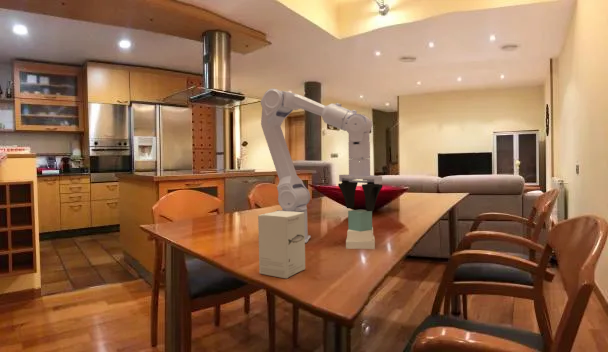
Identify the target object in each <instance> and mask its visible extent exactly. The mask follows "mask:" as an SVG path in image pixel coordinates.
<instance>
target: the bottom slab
mask: <svg viewBox="0 0 608 352" xmlns="http://www.w3.org/2000/svg"><path fill="white" fill-rule="evenodd" d="M345 249H346V250H349V249H352V250H353V249H354V250H355V249H356V250H376V240H375V235H373V240H372V241H347V238H346V239H345Z"/></svg>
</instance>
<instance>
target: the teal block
mask: <svg viewBox="0 0 608 352" xmlns="http://www.w3.org/2000/svg"><path fill="white" fill-rule="evenodd" d="M347 217H348V218H347V221H348V223H347V227H348V229H349V230H355V231H360V232H361V231H366V230H371V229H372V227H373V211H366V209H359V208H358V209H353V210H347Z"/></svg>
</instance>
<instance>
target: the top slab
mask: <svg viewBox="0 0 608 352" xmlns="http://www.w3.org/2000/svg"><path fill="white" fill-rule="evenodd" d="M346 235H347V236H346V239H347V241H372V240H373V236H374V227H373V226H372V229H371V230H366V231H361V232H360V231H355V230H349V228H348V229H347V233H346Z"/></svg>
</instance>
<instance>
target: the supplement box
mask: <svg viewBox="0 0 608 352" xmlns="http://www.w3.org/2000/svg"><path fill="white" fill-rule="evenodd" d="M257 219H258V221H257V222H258V223H257V227H258V229H257V230H258V261H259V262H258V267H259V272H258V273H259V274H261V275H264V276H271V277H275V278H276V277H277V278H281V279H285V280H287V279H288V278H290V277H292V276H293V275H296V274H298V273H300V272H302V271H304V270H306V243H305V222H304V212H291V211H277V210H276V211H272V212H265V213H262V214H258V215H257Z"/></svg>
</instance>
